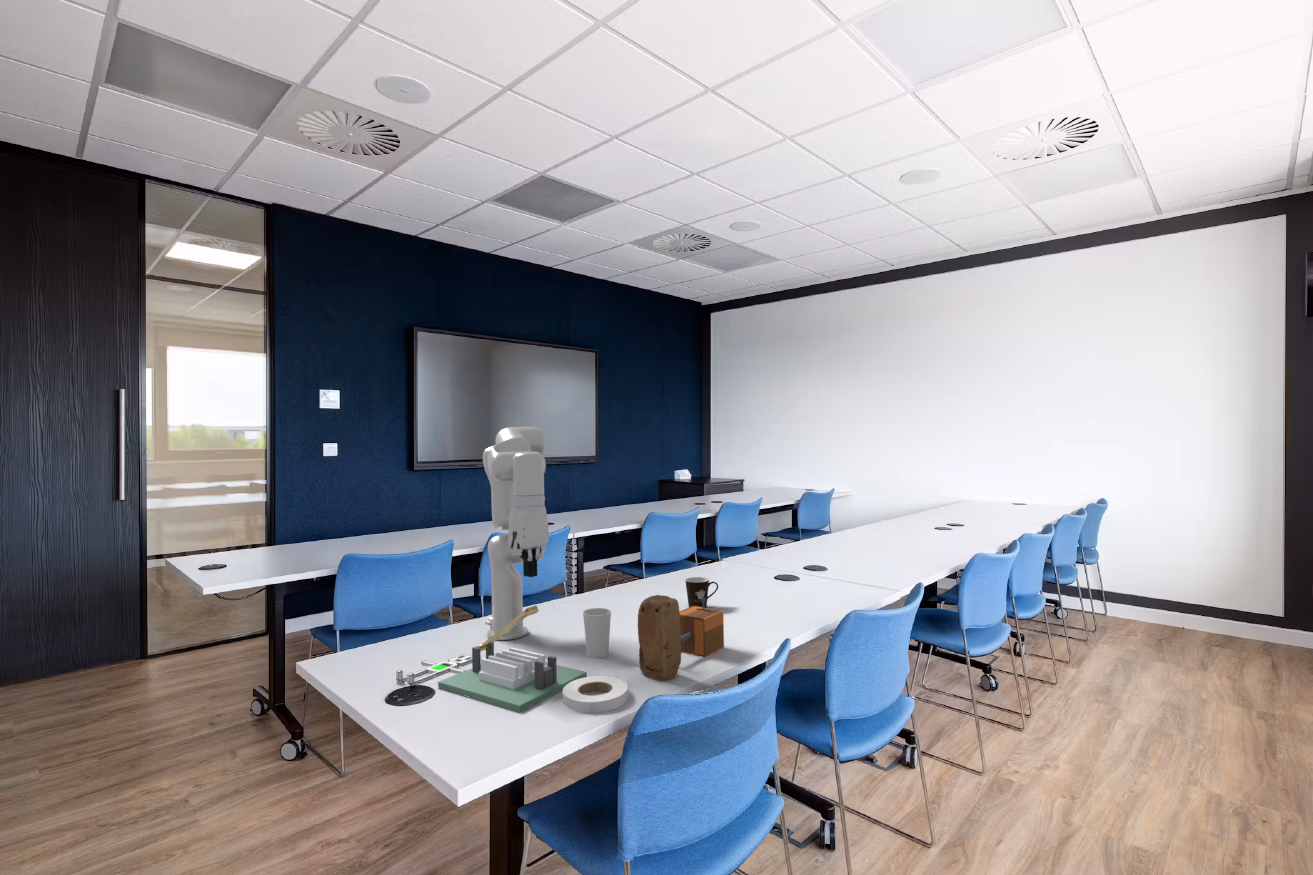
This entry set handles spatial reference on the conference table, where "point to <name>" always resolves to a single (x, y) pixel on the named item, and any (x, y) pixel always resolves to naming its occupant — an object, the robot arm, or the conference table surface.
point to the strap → (508, 627)
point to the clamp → (701, 630)
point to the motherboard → (511, 678)
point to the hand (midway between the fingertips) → (530, 575)
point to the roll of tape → (586, 703)
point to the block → (659, 637)
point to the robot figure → (435, 669)
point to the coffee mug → (698, 590)
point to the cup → (597, 631)
